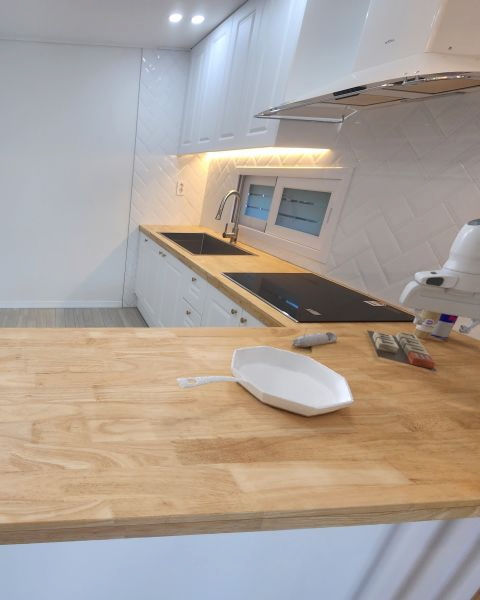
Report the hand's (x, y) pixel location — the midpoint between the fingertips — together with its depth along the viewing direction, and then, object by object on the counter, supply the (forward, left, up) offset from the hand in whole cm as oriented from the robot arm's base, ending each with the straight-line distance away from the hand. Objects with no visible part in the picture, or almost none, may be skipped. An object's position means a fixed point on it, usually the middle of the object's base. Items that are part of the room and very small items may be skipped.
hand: (439, 328), depth 94 cm
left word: (+8, -8, -11) cm, 16 cm away
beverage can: (-10, -30, -12) cm, 34 cm away
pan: (+40, +44, -12) cm, 61 cm away
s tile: (+1, 0, -11) cm, 11 cm away
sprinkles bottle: (-5, -25, -12) cm, 28 cm away
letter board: (+4, -8, -12) cm, 15 cm away
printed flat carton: (+1, -11, -11) cm, 16 cm away
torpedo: (+27, +5, -12) cm, 30 cm away
